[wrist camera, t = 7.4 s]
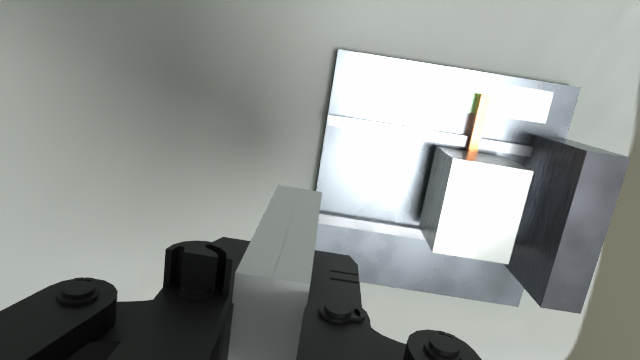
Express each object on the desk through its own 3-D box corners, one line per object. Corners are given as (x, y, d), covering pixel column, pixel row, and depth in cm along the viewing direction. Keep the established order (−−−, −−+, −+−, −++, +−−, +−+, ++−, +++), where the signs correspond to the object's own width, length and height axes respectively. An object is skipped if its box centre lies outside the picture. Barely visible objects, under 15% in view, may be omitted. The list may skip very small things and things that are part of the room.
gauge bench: (338, 50, 27) (338, 42, 20) (570, 86, 27) (651, 91, 20) (304, 265, 30) (294, 323, 23) (511, 297, 30) (563, 365, 23)
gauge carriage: (448, 88, 25) (468, 91, 22) (518, 99, 25) (551, 104, 22) (418, 226, 27) (432, 252, 23) (484, 237, 27) (508, 264, 23)
